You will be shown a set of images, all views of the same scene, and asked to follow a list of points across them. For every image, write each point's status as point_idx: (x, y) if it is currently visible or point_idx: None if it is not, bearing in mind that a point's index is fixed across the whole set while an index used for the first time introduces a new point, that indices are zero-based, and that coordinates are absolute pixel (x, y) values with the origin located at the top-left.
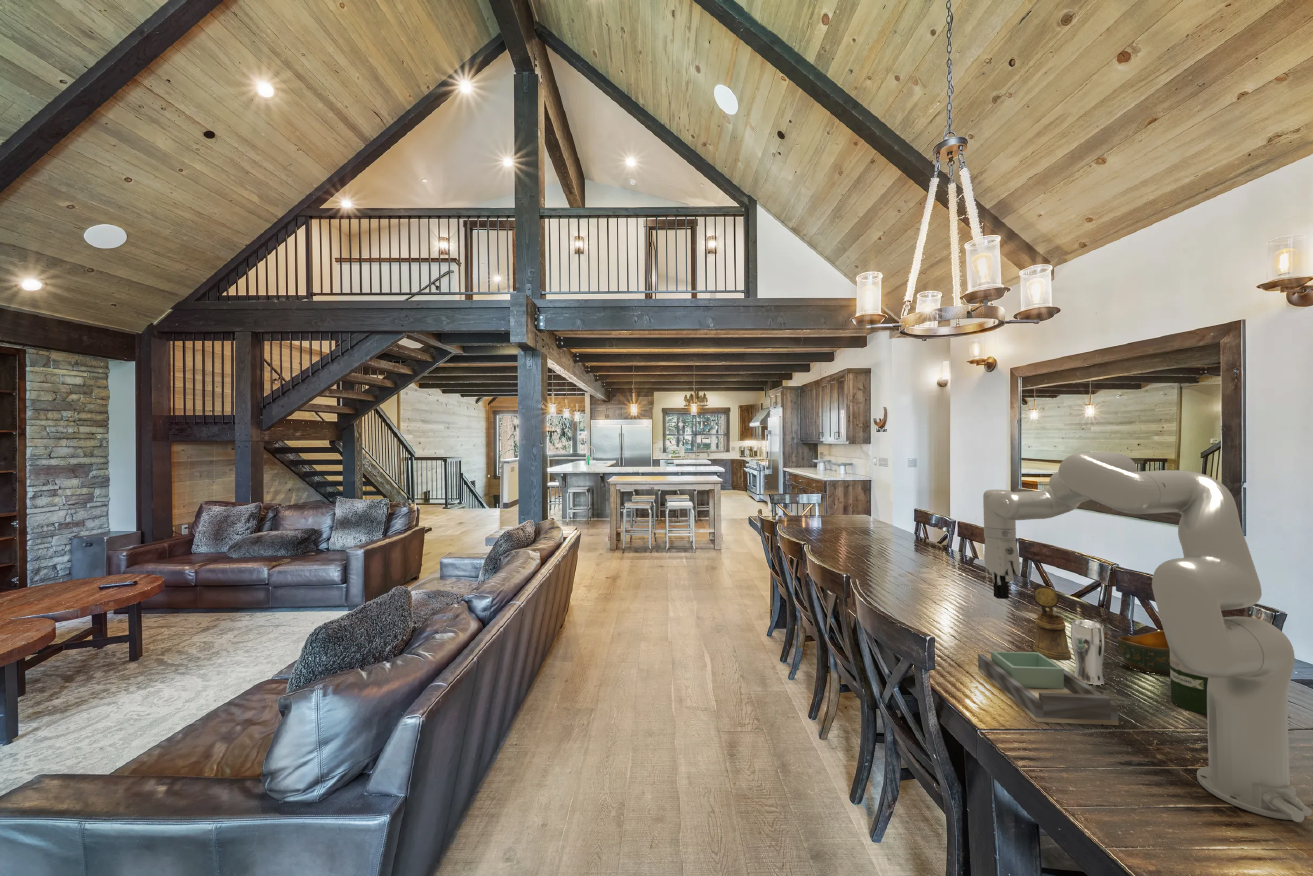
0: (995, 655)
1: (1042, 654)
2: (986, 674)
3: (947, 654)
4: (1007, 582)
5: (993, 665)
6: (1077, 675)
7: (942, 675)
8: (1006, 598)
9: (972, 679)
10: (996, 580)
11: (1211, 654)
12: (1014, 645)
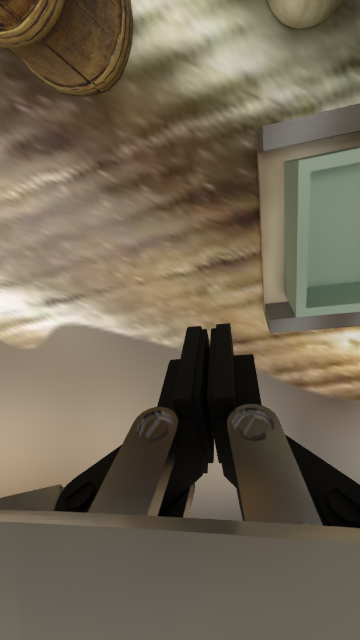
0: (322, 313)
1: (114, 78)
2: None
3: (180, 345)
4: (322, 472)
5: (350, 322)
6: (318, 15)
7: (297, 383)
8: (231, 335)
9: (315, 338)
10: (188, 483)
11: None
12: (49, 150)
